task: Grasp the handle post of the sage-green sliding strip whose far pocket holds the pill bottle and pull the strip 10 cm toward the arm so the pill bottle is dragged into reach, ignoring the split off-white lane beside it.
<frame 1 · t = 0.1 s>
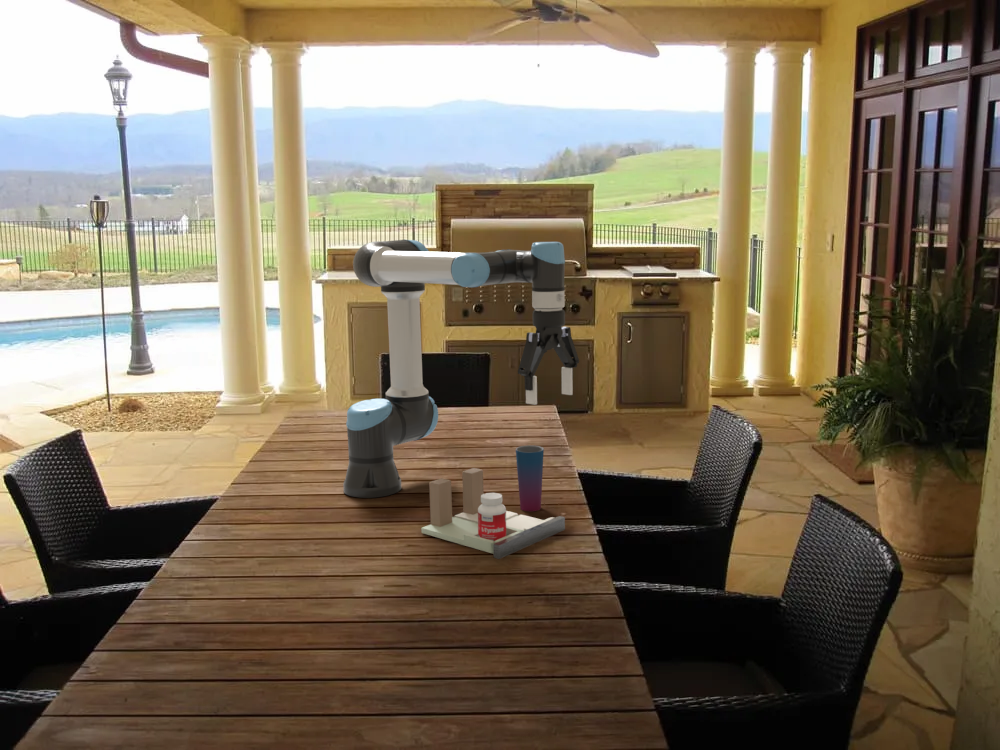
hand: (549, 399, 223), 28 cm above the table, fingers open, 13 cm apart
cup: (530, 509, 231), on the table
sage strip: (471, 512, 210), point 6 cm above the table, slide at 0.0 cm
end bar: (530, 543, 207), on the table
pill bottle: (492, 545, 207), resting in sage strip
white strip near: (485, 496, 222), point 6 cm above the table, slide at 0.0 cm
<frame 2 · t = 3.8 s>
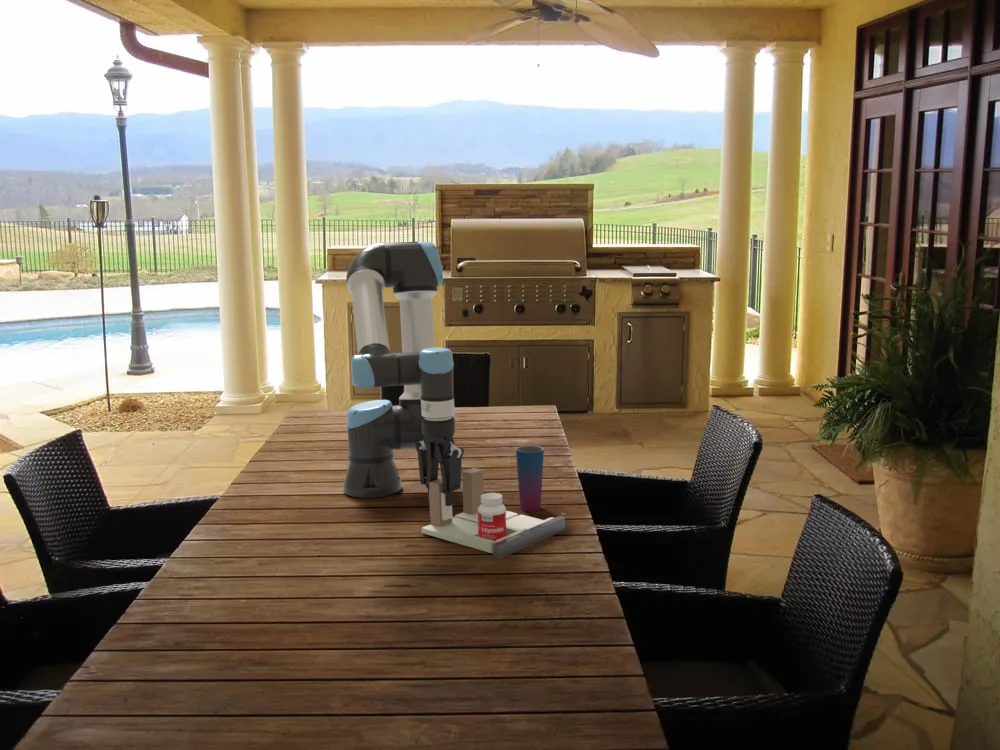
hand: (441, 516, 217), 3 cm above the table, fingers closed on sage strip, 3 cm apart
sage strip: (471, 512, 210), point 6 cm above the table, slide at 0.0 cm, touching gripper
everything else where it was.
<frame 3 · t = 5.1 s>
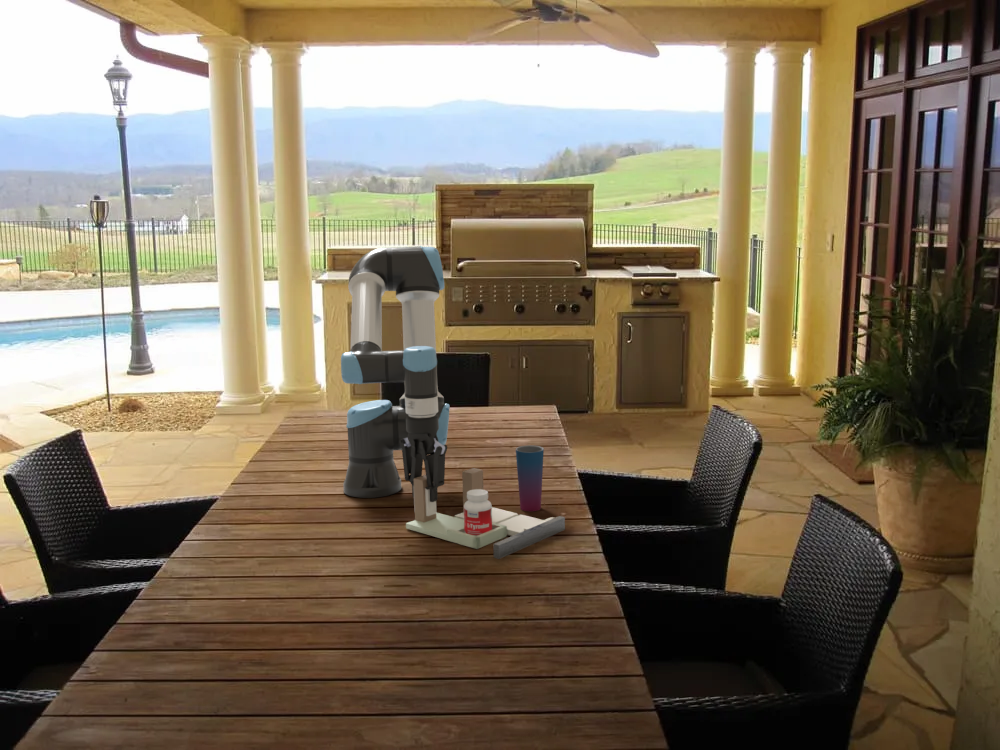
hand: (425, 512, 220), 3 cm above the table, fingers closed on sage strip, 3 cm apart
sage strip: (454, 508, 213), point 6 cm above the table, slide at 5.1 cm, touching gripper, pill bottle
pill bottle: (478, 540, 210), resting in sage strip
everything else where it was.
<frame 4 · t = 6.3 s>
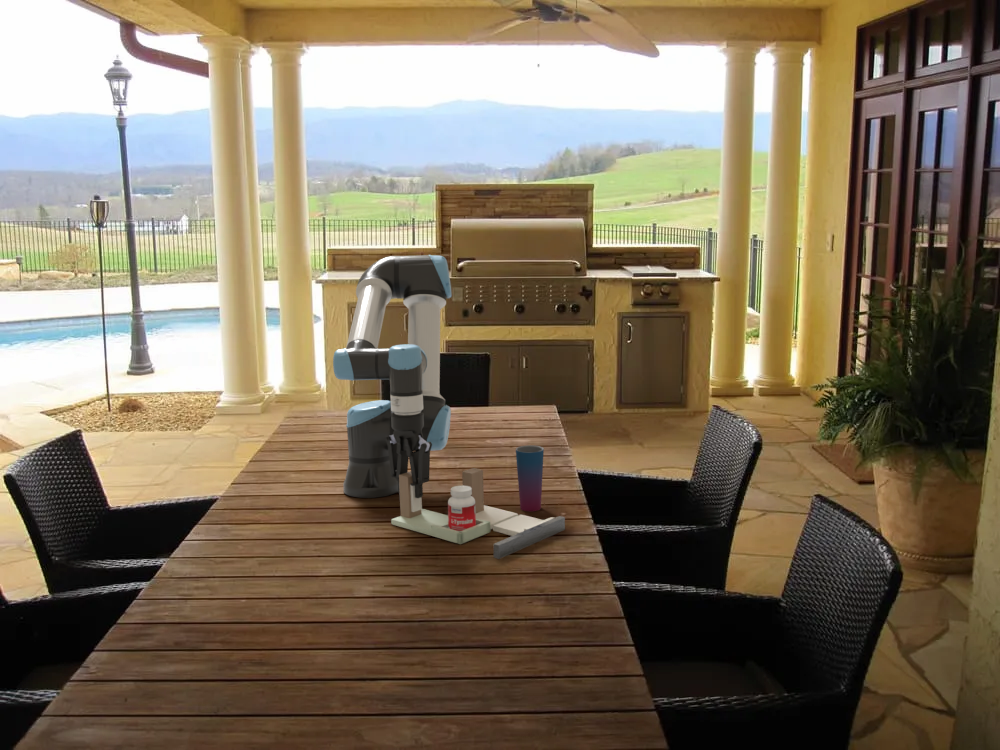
hand: (411, 508, 223), 3 cm above the table, fingers closed on sage strip, 3 cm apart
sage strip: (439, 504, 217), point 6 cm above the table, slide at 10.0 cm, touching gripper, pill bottle
pill bottle: (462, 536, 213), resting in sage strip
everything else where it was.
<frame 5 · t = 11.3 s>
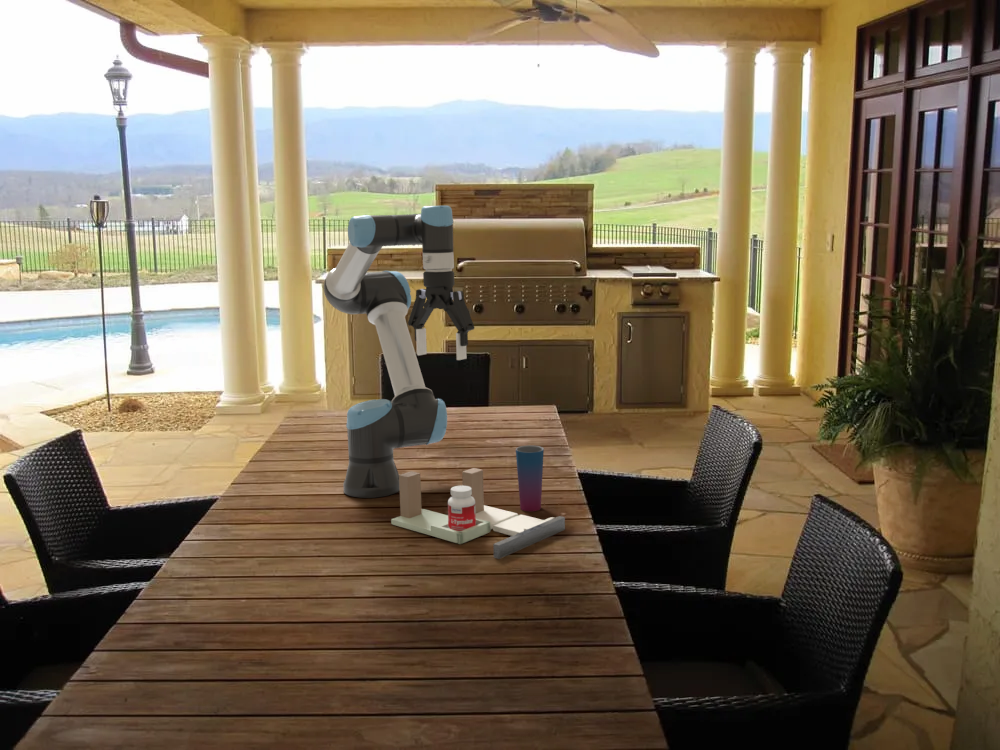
hand: (441, 357, 233), 37 cm above the table, fingers open, 13 cm apart
sage strip: (439, 504, 217), point 6 cm above the table, slide at 10.0 cm
pill bottle: (462, 536, 213), resting in sage strip
everything else where it was.
at the end: sage strip slide at 10.0 cm; pill bottle inside the target area (1.0 cm from its centre), resting in sage strip; pill bottle tilted 0° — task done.
